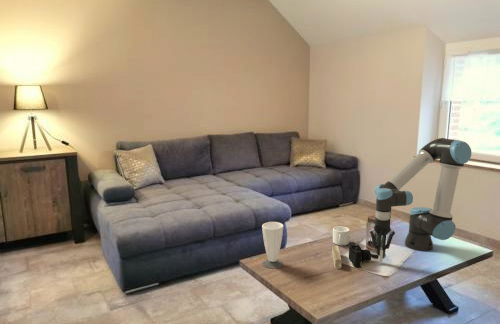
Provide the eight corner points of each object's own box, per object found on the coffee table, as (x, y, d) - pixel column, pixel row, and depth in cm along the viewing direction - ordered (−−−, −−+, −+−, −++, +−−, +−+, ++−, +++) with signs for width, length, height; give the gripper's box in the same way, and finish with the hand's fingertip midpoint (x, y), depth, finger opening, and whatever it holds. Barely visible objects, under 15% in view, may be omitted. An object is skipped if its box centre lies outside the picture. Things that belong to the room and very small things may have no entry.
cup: (287, 263, 200) (288, 224, 196) (274, 270, 191) (274, 230, 187) (271, 257, 207) (271, 220, 203) (257, 264, 199) (257, 225, 195)
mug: (348, 249, 217) (349, 234, 215) (331, 246, 221) (331, 232, 219) (350, 241, 228) (351, 227, 226) (333, 239, 232) (334, 225, 230)
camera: (374, 268, 193) (374, 250, 191) (353, 268, 193) (354, 250, 191) (366, 256, 207) (367, 239, 205) (346, 256, 207) (347, 239, 205)
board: (337, 254, 210) (337, 245, 209) (341, 268, 193) (341, 259, 192) (332, 253, 211) (332, 245, 210) (335, 268, 193) (335, 259, 192)
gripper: (394, 216, 197) (391, 258, 201) (368, 215, 199) (366, 256, 203) (397, 221, 190) (394, 264, 194) (371, 220, 191) (369, 263, 195)
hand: (380, 260), depth 198 cm, fingers closed
